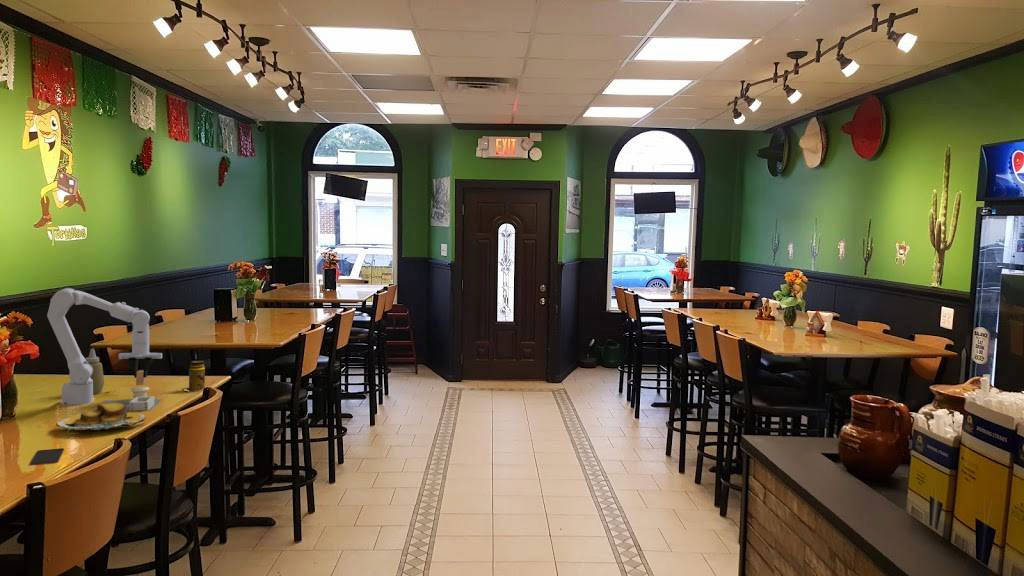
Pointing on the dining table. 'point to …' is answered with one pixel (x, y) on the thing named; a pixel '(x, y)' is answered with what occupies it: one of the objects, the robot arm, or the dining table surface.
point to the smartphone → (47, 456)
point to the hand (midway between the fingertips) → (140, 377)
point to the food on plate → (101, 417)
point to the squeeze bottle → (96, 372)
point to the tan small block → (140, 378)
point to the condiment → (196, 376)
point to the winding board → (137, 400)
